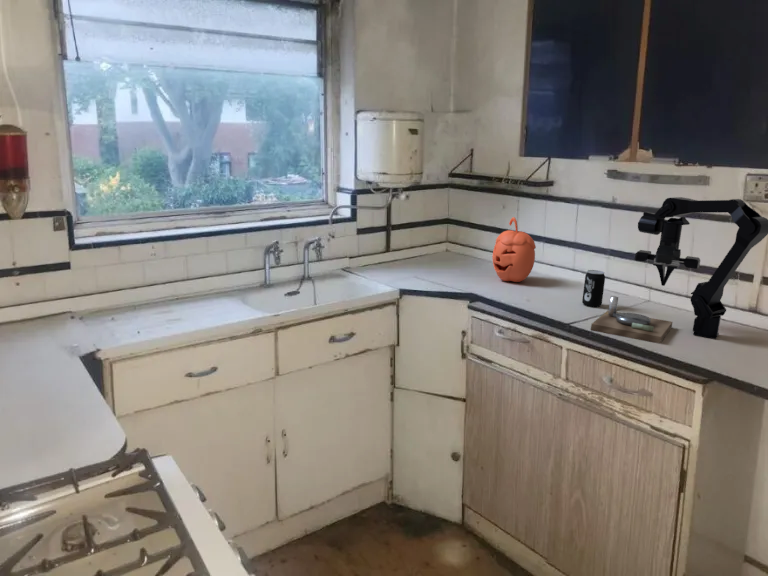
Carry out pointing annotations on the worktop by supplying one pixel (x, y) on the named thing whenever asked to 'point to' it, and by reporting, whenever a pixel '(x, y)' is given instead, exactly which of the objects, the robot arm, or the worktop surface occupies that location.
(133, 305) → the worktop surface
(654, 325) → the base plate
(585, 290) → the beverage can
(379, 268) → the worktop surface
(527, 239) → the jack-o'-lantern
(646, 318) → the silver curved piece
